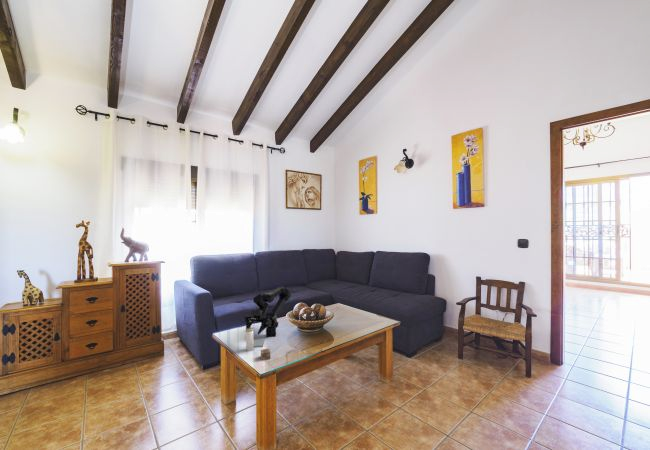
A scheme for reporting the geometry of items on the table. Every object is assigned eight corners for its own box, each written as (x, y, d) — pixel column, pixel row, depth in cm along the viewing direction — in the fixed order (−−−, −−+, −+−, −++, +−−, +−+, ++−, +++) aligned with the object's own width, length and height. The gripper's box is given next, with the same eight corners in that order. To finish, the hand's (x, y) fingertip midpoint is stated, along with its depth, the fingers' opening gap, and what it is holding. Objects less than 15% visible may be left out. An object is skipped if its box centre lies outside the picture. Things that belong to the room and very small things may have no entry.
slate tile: (264, 340, 187) (264, 339, 187) (262, 346, 177) (262, 345, 177) (249, 341, 186) (249, 339, 186) (247, 347, 176) (246, 346, 176)
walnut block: (269, 355, 165) (269, 348, 165) (270, 359, 161) (270, 352, 161) (260, 356, 164) (260, 349, 164) (261, 360, 159) (261, 353, 159)
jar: (254, 347, 176) (254, 327, 176) (253, 350, 171) (253, 329, 171) (247, 348, 175) (246, 327, 175) (245, 351, 171) (245, 330, 171)
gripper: (245, 303, 184) (234, 325, 173) (269, 305, 177) (259, 328, 167) (252, 311, 191) (242, 333, 181) (275, 314, 184) (266, 337, 174)
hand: (252, 333), depth 175 cm, fingers open, 9 cm apart
